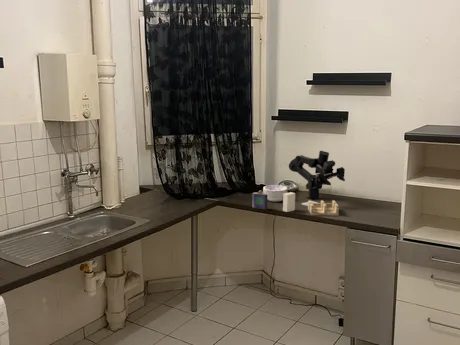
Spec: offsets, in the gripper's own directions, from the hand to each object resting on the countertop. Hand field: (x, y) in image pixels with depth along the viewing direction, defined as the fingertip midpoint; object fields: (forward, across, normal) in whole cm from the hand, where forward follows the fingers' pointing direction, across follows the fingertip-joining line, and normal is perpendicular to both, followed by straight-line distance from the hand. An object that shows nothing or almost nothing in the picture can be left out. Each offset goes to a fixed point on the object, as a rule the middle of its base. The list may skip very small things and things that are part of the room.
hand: (337, 182), depth 274 cm
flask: (-12, -44, +11) cm, 47 cm away
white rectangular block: (-2, -31, +11) cm, 33 cm away
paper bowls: (-25, -28, +19) cm, 42 cm away
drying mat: (-6, -12, +16) cm, 21 cm away
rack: (+8, -14, +11) cm, 20 cm away
